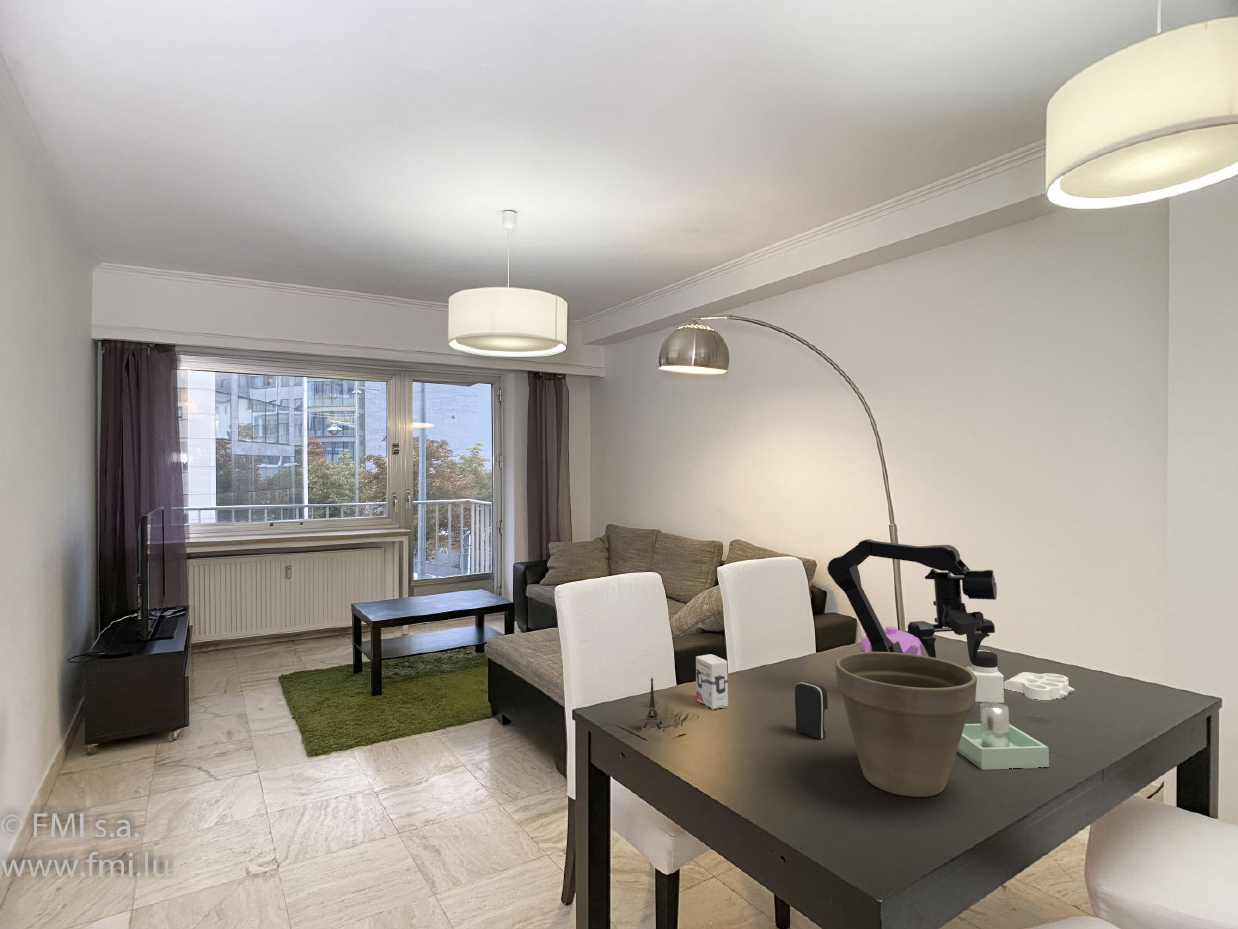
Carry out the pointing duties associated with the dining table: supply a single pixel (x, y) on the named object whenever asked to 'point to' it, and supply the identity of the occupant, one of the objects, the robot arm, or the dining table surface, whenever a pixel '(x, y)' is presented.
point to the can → (994, 725)
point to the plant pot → (905, 717)
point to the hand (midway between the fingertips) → (953, 663)
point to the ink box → (712, 680)
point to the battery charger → (810, 709)
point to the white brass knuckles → (1039, 685)
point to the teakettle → (905, 639)
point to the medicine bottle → (988, 678)
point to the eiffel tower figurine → (653, 718)
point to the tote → (1003, 750)
